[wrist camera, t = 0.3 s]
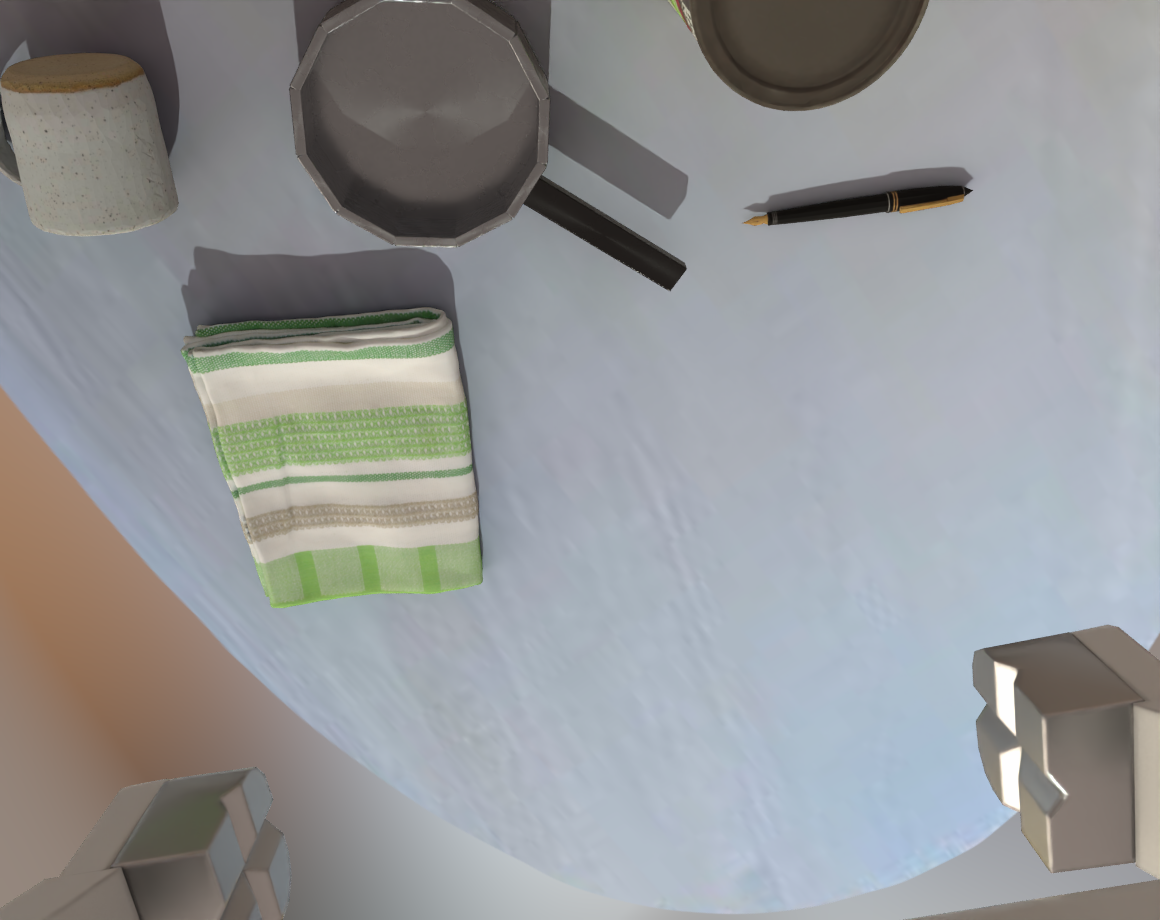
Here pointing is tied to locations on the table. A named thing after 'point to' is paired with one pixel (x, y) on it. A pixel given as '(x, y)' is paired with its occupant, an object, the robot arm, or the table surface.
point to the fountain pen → (868, 205)
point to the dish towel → (344, 451)
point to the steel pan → (439, 129)
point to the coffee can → (801, 45)
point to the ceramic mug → (86, 144)
